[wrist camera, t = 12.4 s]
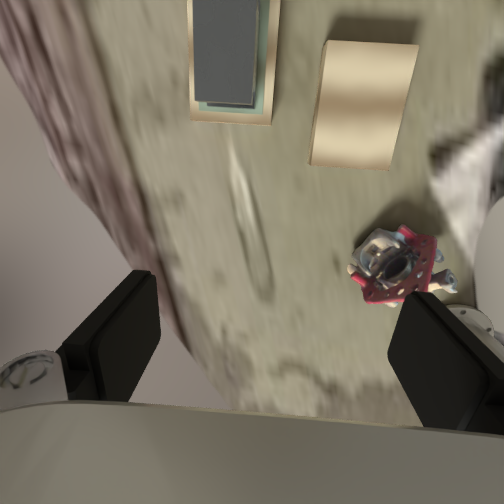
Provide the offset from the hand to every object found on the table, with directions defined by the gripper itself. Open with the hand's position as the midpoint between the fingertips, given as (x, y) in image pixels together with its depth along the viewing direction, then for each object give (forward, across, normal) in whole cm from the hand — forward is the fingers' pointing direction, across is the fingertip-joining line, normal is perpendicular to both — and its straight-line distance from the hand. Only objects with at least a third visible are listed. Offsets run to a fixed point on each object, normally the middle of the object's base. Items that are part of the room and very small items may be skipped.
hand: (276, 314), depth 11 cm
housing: (+25, +5, -13) cm, 29 cm away
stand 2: (+28, -9, -9) cm, 31 cm away
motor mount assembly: (+29, -17, +9) cm, 35 cm away
